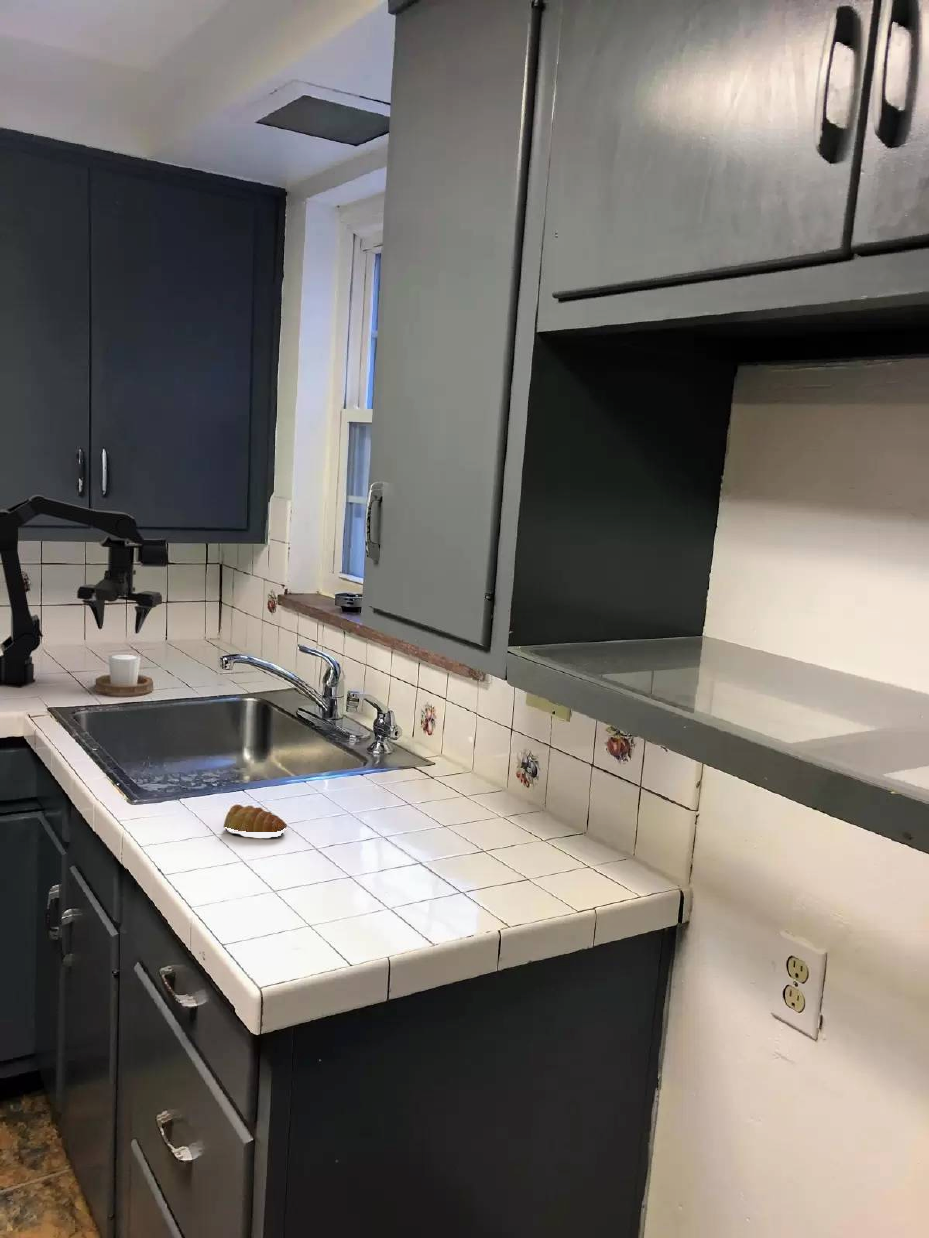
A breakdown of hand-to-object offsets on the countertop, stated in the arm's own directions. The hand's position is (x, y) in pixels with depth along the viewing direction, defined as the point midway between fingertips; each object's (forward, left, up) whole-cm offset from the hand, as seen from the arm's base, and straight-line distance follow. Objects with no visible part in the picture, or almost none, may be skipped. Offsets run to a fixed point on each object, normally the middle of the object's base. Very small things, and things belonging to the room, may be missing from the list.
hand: (118, 631), depth 233 cm
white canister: (+5, -7, -11) cm, 14 cm away
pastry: (+60, -76, -12) cm, 98 cm away
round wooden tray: (+5, -7, -12) cm, 15 cm away
